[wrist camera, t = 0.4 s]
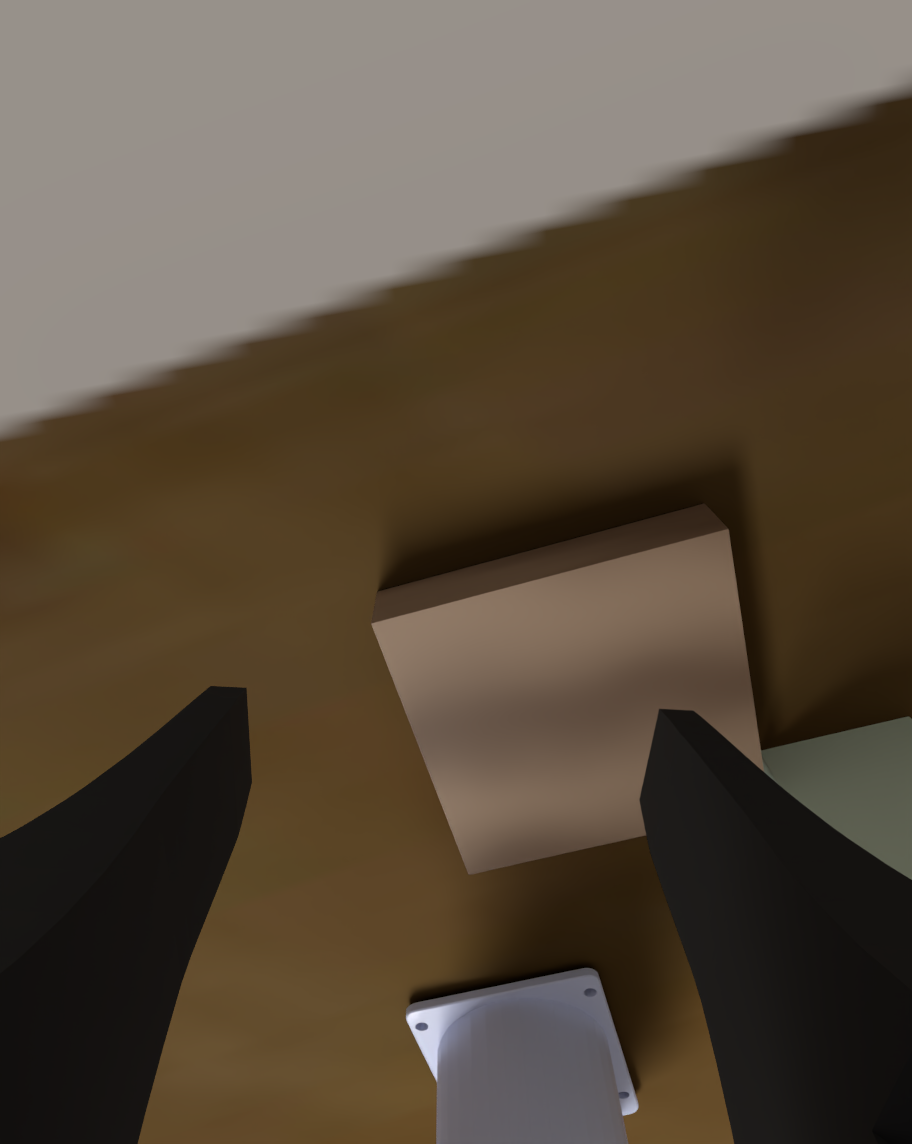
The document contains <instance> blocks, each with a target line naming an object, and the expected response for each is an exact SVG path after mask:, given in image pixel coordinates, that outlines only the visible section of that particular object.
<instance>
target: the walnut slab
mask: <svg viewBox="0 0 912 1144" xmlns="http://www.w3.org/2000/svg"><path fill="white" fill-rule="evenodd" d="M371 624H372V627H373V630H374V632H375V635H376V637H377V640H378V642H379V645H380V648H381V650H382V653H383V655H384V658H385V661H386V663H387V666H388V668H389V671H390V673H391V676H392V679H393V681H394V684H395V686H396V689H397V691H398V694H399V697H400V699H401V702H402V704H403V707H404V709H405V712H406V715H407V717H408V720H409V722H410V725H411V727H412V730H413V733H414V735H415V738H416V740H417V743H418V745H419V748H420V751H421V753H422V756H423V758H424V761H425V764H426V766H427V769H428V771H429V774H430V776H431V779H432V782H433V784H434V787H435V789H436V792H437V794H438V797H439V800H440V802H441V805H442V807H443V810H444V812H445V815H446V818H447V820H448V823H449V825H450V828H451V830H452V833H453V836H454V838H455V841H456V843H457V846H458V848H459V851H460V854H461V856H462V859H463V861H464V864H465V867H466V869H467V872H468V874H469V875H471V874H475V873H479V872H484V871H488V870H493V869H497V868H502V867H506V866H511V865H515V864H520V863H524V862H529V861H533V860H538V859H542V858H547V857H551V856H556V855H560V854H564V853H569V852H573V851H578V850H582V849H587V848H591V847H596V846H600V845H605V844H609V843H614V842H618V841H623V840H627V839H632V838H636V837H641V836H645V835H646V831H645V827H644V821H643V816H642V811H641V806H640V801H639V799H640V795H641V790H642V785H643V781H644V776H645V772H646V767H647V762H648V758H649V753H650V749H651V744H652V739H653V735H654V730H655V726H656V721H657V716H658V712H659V709H674V710H693V711H695V712H696V713H697V714H698V715H700V716H701V717H702V718H703V719H705V720H706V721H707V722H708V723H709V724H710V725H711V726H713V727H714V728H715V729H716V730H717V731H718V732H719V733H721V734H722V735H723V736H724V737H725V738H726V739H727V740H728V741H729V742H731V743H732V744H733V745H734V746H735V747H736V748H737V749H738V750H740V751H741V752H742V753H743V754H744V755H745V756H746V757H747V758H749V759H750V760H751V761H752V762H753V763H754V764H755V765H756V766H758V767H759V768H760V769H761V770H762V771H763V772H764V768H763V761H762V754H761V747H760V741H759V734H758V727H757V720H756V713H755V706H754V700H753V693H752V686H751V679H750V672H749V665H748V659H747V652H746V645H745V638H744V631H743V624H742V618H741V611H740V604H739V597H738V590H737V583H736V577H735V570H734V563H733V556H732V549H731V542H730V535H729V529H728V528H727V527H726V526H725V525H724V523H723V522H722V521H721V520H720V519H719V518H718V517H717V516H716V515H715V514H714V513H713V512H712V511H711V509H710V508H709V507H708V506H707V505H706V504H705V503H704V504H700V505H697V506H693V507H689V508H686V509H682V510H678V511H674V512H671V513H667V514H663V515H660V516H656V517H652V518H648V519H645V520H641V521H637V522H634V523H630V524H626V525H623V526H619V527H615V528H611V529H608V530H604V531H600V532H597V533H593V534H589V535H585V536H582V537H578V538H574V539H571V540H567V541H563V542H559V543H556V544H552V545H548V546H545V547H541V548H537V549H534V550H530V551H526V552H522V553H519V554H515V555H511V556H508V557H504V558H500V559H496V560H493V561H489V562H485V563H482V564H478V565H474V566H470V567H467V568H463V569H459V570H456V571H452V572H448V573H445V574H441V575H437V576H433V577H430V578H426V579H422V580H419V581H415V582H411V583H407V584H404V585H400V586H396V587H393V588H389V589H385V590H382V591H378V592H377V595H376V600H375V606H374V611H373V616H372V622H371Z"/></svg>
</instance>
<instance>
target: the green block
mask: <svg viewBox="0 0 912 1144" xmlns="http://www.w3.org/2000/svg"><path fill="white" fill-rule="evenodd" d="M761 754H762V761H763V768H764V772H765V773H766V774H767V775H768V776H769V777H770V778H771V779H773V780H774V781H775V782H776V783H777V784H779V785H780V786H781V787H782V788H783V789H785V790H786V791H787V792H788V793H789V794H791V795H792V796H793V797H794V798H796V799H797V800H798V801H799V802H801V803H802V804H803V805H804V806H806V807H807V808H808V809H810V810H811V811H812V812H814V813H815V814H816V815H817V816H819V817H820V818H821V819H823V820H824V821H825V822H826V823H828V824H829V825H830V826H832V827H833V828H834V829H836V830H837V831H839V832H840V833H841V834H843V835H844V836H846V837H847V838H848V839H850V840H851V841H853V842H854V843H856V844H857V845H859V846H860V847H862V848H863V849H865V850H866V851H868V852H869V853H871V854H872V855H874V856H875V857H877V858H878V859H880V860H881V861H883V862H884V863H886V864H887V865H889V866H890V867H892V868H893V869H895V870H897V871H898V872H900V873H902V874H903V875H905V876H906V877H908V878H910V879H911V880H912V719H911V718H910V717H909V716H908V717H903V718H899V719H895V720H891V721H886V722H882V723H878V724H873V725H869V726H865V727H860V728H856V729H852V730H847V731H843V732H839V733H834V734H830V735H826V736H822V737H817V738H813V739H809V740H804V741H800V742H796V743H791V744H787V745H783V746H778V747H774V748H770V749H766V750H761Z"/></svg>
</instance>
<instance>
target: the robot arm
mask: <svg viewBox="0 0 912 1144" xmlns="http://www.w3.org/2000/svg"><path fill="white" fill-rule="evenodd" d="M251 784H252V777H251V759H250V742H249V725H248V708H247V691H246V688H237V687H217V686H210V687H209V688H208V689H207V690H206V691H204V692H203V693H202V694H201V695H199V696H198V697H197V698H196V699H195V700H193V701H192V702H191V703H190V704H189V705H188V706H186V707H185V708H184V709H183V710H182V711H181V712H179V713H178V714H177V715H176V716H175V717H174V718H172V719H171V720H170V721H169V722H168V723H166V724H165V725H164V726H163V727H162V728H161V729H159V730H158V731H157V732H156V733H155V734H153V735H152V736H151V737H150V738H148V739H147V740H146V741H145V742H143V743H142V744H141V745H140V746H139V747H137V748H136V749H135V750H134V751H132V752H131V753H130V754H129V755H127V756H126V757H125V758H123V759H122V760H121V761H119V762H118V763H117V764H115V765H114V766H113V767H111V768H110V769H108V770H107V771H106V772H104V773H103V774H102V775H100V776H99V777H98V778H96V779H95V780H94V781H92V782H91V783H90V784H88V785H87V786H85V787H84V788H82V789H81V790H80V791H78V792H77V793H75V794H74V795H72V796H71V797H69V798H68V799H66V800H65V801H63V802H61V803H60V804H58V805H57V806H55V807H54V808H52V809H50V810H49V811H47V812H45V813H44V814H42V815H40V816H39V817H37V818H36V819H34V820H32V821H31V822H29V823H27V824H26V825H24V826H22V827H20V828H19V829H17V830H15V831H13V832H11V833H9V834H8V835H6V836H4V837H2V838H0V1144H138V1140H139V1136H140V1132H141V1128H142V1124H143V1120H144V1116H145V1112H146V1108H147V1105H148V1101H149V1097H150V1093H151V1090H152V1086H153V1082H154V1079H155V1075H156V1071H157V1068H158V1064H159V1060H160V1057H161V1053H162V1049H163V1045H164V1042H165V1038H166V1035H167V1031H168V1028H169V1025H170V1021H171V1018H172V1014H173V1011H174V1007H175V1004H176V1000H177V997H178V993H179V990H180V986H181V983H182V980H183V977H184V974H185V971H186V969H187V966H188V963H189V960H190V957H191V954H192V952H193V949H194V947H195V944H196V942H197V939H198V937H199V934H200V932H201V929H202V927H203V924H204V922H205V919H206V917H207V914H208V912H209V909H210V907H211V904H212V902H213V899H214V897H215V894H216V892H217V889H218V886H219V884H220V881H221V879H222V876H223V874H224V871H225V869H226V866H227V864H228V861H229V859H230V856H231V853H232V851H233V848H234V846H235V843H236V840H237V838H238V835H239V831H240V827H241V824H242V820H243V816H244V812H245V808H246V804H247V800H248V796H249V792H250V788H251ZM639 801H640V806H641V811H642V816H643V821H644V827H645V831H646V836H647V840H648V845H649V849H650V853H651V856H652V859H653V862H654V865H655V868H656V871H657V874H658V877H659V880H660V883H661V886H662V888H663V891H664V894H665V897H666V900H667V903H668V905H669V908H670V911H671V914H672V917H673V919H674V922H675V925H676V928H677V931H678V933H679V936H680V939H681V942H682V945H683V947H684V950H685V953H686V956H687V959H688V962H689V964H690V967H691V970H692V973H693V976H694V979H695V982H696V986H697V989H698V992H699V995H700V999H701V1002H702V1006H703V1010H704V1014H705V1018H706V1022H707V1026H708V1030H709V1034H710V1038H711V1042H712V1046H713V1050H714V1054H715V1058H716V1063H717V1067H718V1071H719V1076H720V1080H721V1085H722V1089H723V1094H724V1098H725V1103H726V1107H727V1111H728V1116H729V1120H730V1125H731V1129H732V1134H733V1139H734V1144H912V880H911V879H910V878H908V877H906V876H905V875H903V874H902V873H900V872H898V871H897V870H895V869H893V868H892V867H890V866H889V865H887V864H886V863H884V862H883V861H881V860H880V859H878V858H877V857H875V856H874V855H872V854H871V853H869V852H868V851H866V850H865V849H863V848H862V847H860V846H859V845H857V844H856V843H854V842H853V841H851V840H850V839H848V838H847V837H846V836H844V835H843V834H841V833H840V832H839V831H837V830H836V829H834V828H833V827H832V826H830V825H829V824H828V823H826V822H825V821H824V820H823V819H821V818H820V817H819V816H817V815H816V814H815V813H814V812H812V811H811V810H810V809H808V808H807V807H806V806H804V805H803V804H802V803H801V802H799V801H798V800H797V799H796V798H794V797H793V796H792V795H791V794H789V793H788V792H787V791H786V790H785V789H783V788H782V787H781V786H780V785H779V784H777V783H776V782H775V781H774V780H773V779H771V778H770V777H769V776H768V775H767V774H766V773H765V772H763V771H762V770H761V769H760V768H759V767H758V766H756V765H755V764H754V763H753V762H752V761H751V760H750V759H749V758H747V757H746V756H745V755H744V754H743V753H742V752H741V751H740V750H738V749H737V748H736V747H735V746H734V745H733V744H732V743H731V742H729V741H728V740H727V739H726V738H725V737H724V736H723V735H722V734H721V733H719V732H718V731H717V730H716V729H715V728H714V727H713V726H711V725H710V724H709V723H708V722H707V721H706V720H705V719H703V718H702V717H701V716H700V715H698V714H697V713H696V712H695V711H693V710H674V709H659V712H658V716H657V721H656V726H655V730H654V735H653V739H652V744H651V749H650V753H649V758H648V762H647V767H646V772H645V776H644V781H643V785H642V790H641V795H640V799H639ZM406 1020H407V1022H408V1024H409V1027H410V1029H411V1031H412V1033H413V1035H414V1037H415V1039H416V1041H417V1043H418V1045H419V1047H420V1049H421V1051H422V1053H423V1055H424V1057H425V1059H426V1061H427V1063H428V1065H429V1067H430V1069H431V1071H432V1073H433V1075H434V1077H435V1079H436V1081H437V1139H436V1144H628V1140H627V1135H626V1130H625V1125H624V1120H623V1115H628V1114H632V1113H634V1112H636V1111H637V1109H638V1101H637V1097H636V1093H635V1090H634V1087H633V1084H632V1081H631V1077H630V1074H629V1071H628V1068H627V1065H626V1061H625V1058H624V1055H623V1052H622V1048H621V1045H620V1042H619V1039H618V1036H617V1032H616V1029H615V1026H614V1023H613V1020H612V1016H611V1013H610V1010H609V1007H608V1003H607V1000H606V997H605V994H604V991H603V987H602V984H601V981H600V978H599V975H598V973H597V971H595V970H594V969H592V968H581V969H576V970H571V971H567V972H562V973H557V974H552V975H547V976H542V977H537V978H533V979H528V980H523V981H518V982H513V983H508V984H504V985H499V986H494V987H489V988H484V989H479V990H474V991H470V992H465V993H460V994H455V995H450V996H445V997H440V998H436V999H431V1000H426V1001H421V1002H416V1003H413V1004H411V1005H409V1006H408V1007H407V1009H406Z"/></svg>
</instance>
